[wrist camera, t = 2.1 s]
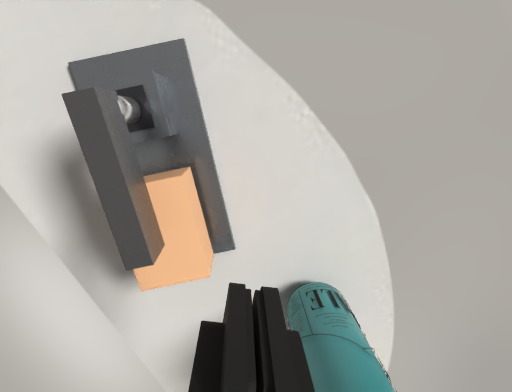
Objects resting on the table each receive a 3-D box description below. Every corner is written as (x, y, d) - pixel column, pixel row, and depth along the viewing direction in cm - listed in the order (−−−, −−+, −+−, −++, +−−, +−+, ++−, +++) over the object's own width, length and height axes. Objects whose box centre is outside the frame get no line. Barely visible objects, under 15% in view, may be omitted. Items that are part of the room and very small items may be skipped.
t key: (176, 227, 25) (155, 264, 19) (153, 231, 25) (124, 270, 19) (136, 94, 22) (95, 86, 16) (110, 99, 22) (59, 94, 16)
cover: (213, 255, 29) (209, 276, 25) (154, 267, 29) (141, 291, 25) (190, 166, 26) (181, 175, 22) (124, 180, 26) (105, 191, 22)
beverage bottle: (291, 328, 34) (357, 607, 15) (275, 280, 32) (328, 528, 13) (345, 312, 34) (483, 574, 15) (332, 263, 32) (472, 489, 13)
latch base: (235, 246, 31) (234, 267, 27) (142, 266, 31) (127, 289, 27) (184, 39, 25) (174, 25, 21) (71, 63, 25) (39, 54, 21)
